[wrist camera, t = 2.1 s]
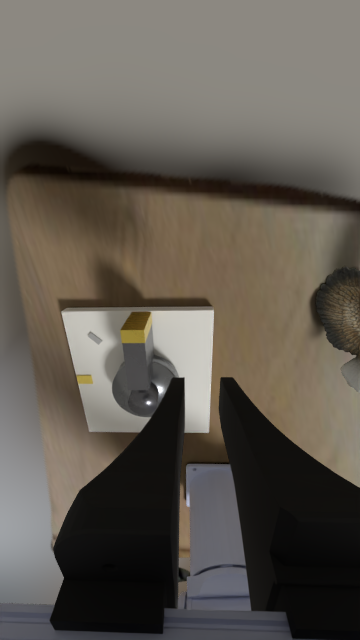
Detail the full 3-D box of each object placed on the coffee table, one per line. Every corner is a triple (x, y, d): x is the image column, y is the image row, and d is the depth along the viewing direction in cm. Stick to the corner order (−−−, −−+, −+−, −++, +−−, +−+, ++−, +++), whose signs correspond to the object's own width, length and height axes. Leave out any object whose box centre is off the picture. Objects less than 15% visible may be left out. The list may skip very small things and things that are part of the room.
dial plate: (212, 306, 20) (214, 310, 19) (208, 425, 25) (209, 434, 24) (66, 307, 20) (60, 312, 19) (92, 424, 26) (88, 433, 25)
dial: (180, 405, 23) (179, 438, 19) (120, 405, 23) (108, 437, 19) (178, 310, 19) (176, 329, 15) (106, 311, 19) (88, 330, 15)
